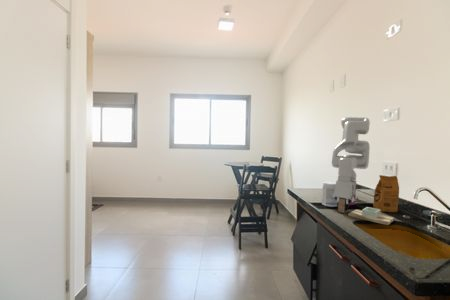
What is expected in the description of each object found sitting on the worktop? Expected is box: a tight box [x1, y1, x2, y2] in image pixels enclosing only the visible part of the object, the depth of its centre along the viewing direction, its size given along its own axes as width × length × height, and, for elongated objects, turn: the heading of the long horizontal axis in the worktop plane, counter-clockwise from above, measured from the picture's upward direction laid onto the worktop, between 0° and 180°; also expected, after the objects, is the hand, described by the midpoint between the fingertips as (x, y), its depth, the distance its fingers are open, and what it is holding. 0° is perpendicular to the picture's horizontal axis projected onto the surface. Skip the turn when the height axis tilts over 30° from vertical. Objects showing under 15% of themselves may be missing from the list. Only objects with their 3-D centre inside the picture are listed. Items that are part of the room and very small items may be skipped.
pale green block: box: [362, 206, 382, 218], centre depth 155 cm, size 9×7×3 cm
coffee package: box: [372, 174, 400, 213], centre depth 172 cm, size 10×12×22 cm
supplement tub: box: [321, 181, 337, 208], centre depth 179 cm, size 10×10×15 cm
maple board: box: [348, 209, 395, 226], centre depth 155 cm, size 13×20×2 cm, turn 47°
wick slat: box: [337, 198, 348, 214], centre depth 164 cm, size 5×4×8 cm
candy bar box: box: [349, 179, 357, 206], centre depth 181 cm, size 11×5×16 cm, turn 117°
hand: (342, 209), depth 164 cm, fingers closed on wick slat, 3 cm apart
